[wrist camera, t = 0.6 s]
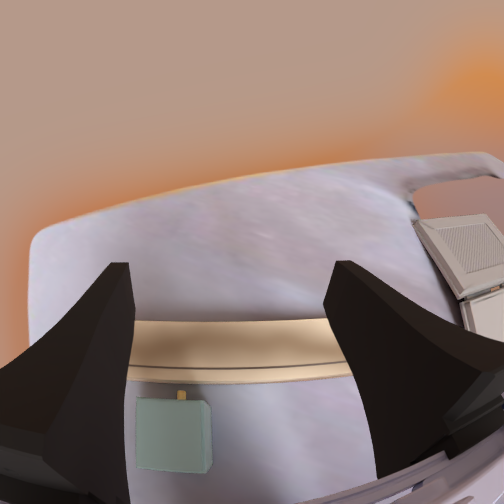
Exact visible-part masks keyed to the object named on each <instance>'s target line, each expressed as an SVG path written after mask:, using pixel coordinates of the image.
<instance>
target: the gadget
mask: <svg viewBox="0 0 504 504" xmlns="http://www.w3.org/2000/svg"><path fill="white" fill-rule="evenodd" d="M412 226H413V228H414V229H415V231H416V233H417V235H418V237H419V239H420V241H421V242H422V244H423V245H424V246H425V248H426V249H427V251H428V252H429V254H430V255H431V257H432V259H433V260H434V262H435V263H436V265H437V266H438V268H439V269H440V271H441V273H442V274H443V276H444V277H445V279H446V281H447V282H448V284H449V286H450V287H451V289H452V291H453V292H454V294H455V296H456V298H457V299H458V300H459V299H462V298H464V300H465V301H464V302H461V303H459V305H460V309H461V313H462V317H463V322H464V326H465V329H466V330H468V331H471V332H473V333H476V334H479V335H482V336H484V337H487V338H490V339H494V340H498V341H501V342H504V236H503V235H502V233H501V232H500V231H499V230H498V228H497V227H496V226H495V225H494V223H493V222H492V221H491V220H490V219H489V217H488V216H487V215H486V214H476V215H465V216H454V217H443V218H434V219H423V220H417V221H416V224H413V225H412ZM499 285H500V289H497V290H494V291H492V292H491V290H490V289H491V288H494V287H496V286H499Z"/></svg>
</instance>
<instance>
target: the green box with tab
mask: <svg viewBox="0 0 504 504" xmlns="http://www.w3.org/2000/svg"><path fill="white" fill-rule="evenodd" d="M212 465H213V458H212V424H211V407H210V406H209V405H208V404H207V403H206V402H205V401H204V400H186V391H177V399H160V398H146V397H137V398H136V468H140V469H148V470H157V471H168V472H180V473H199V474H206V473H207V472H208V470H209V469H210V468H211V466H212Z"/></svg>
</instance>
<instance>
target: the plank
mask: <svg viewBox="0 0 504 504" xmlns="http://www.w3.org/2000/svg"><path fill="white" fill-rule="evenodd" d="M346 376H353V374H352V372H351V370H350V367H349V365H348V363H347V361H346V359H345V357H344V355H343V353H342V351H341V349H340V347H339V344H338V342H337V340H336V338H335V336H334V334H333V332H332V330H331V327H330V325H329V322H328V319H327V318H323V319H305V320H281V321H246V322H174V321H139V320H135V325H134V337H133V343H132V349H131V355H130V361H129V367H128V373H127V380H130V381H142V382H157V383H176V384H262V383H281V382H296V381H308V380H319V379H329V378H338V377H346Z"/></svg>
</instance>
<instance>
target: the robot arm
mask: <svg viewBox="0 0 504 504" xmlns="http://www.w3.org/2000/svg"><path fill="white" fill-rule="evenodd" d="M323 306H324V309H325V312H326V316H327V319H328V322H329V325H330V327H331V330H332V332H333V334H334V336H335V338H336V340H337V342H338V344H339V347H340V349H341V351H342V353H343V355H344V357H345V359H346V361H347V363H348V365H349V367H350V370H351V372H352V374H353V376H354V379H355V381H356V384H357V387H358V390H359V393H360V396H361V399H362V402H363V406H364V410H365V413H366V417H367V421H368V425H369V429H370V434H371V439H372V444H373V450H374V457H375V464H376V473H377V478H378V480H376V481H373V482H370V483H367V484H364V485H361V486H358V487H355V488H352V489H349V490H346V491H343V492H339V493H336V494H332V495H329V496H325V497H321V498H317V499H313V500H309V501H305V502H300V503H296V504H374V503H376V502H379V501H382V500H384V499H386V498H389V497H391V496H394V495H396V494H398V493H400V492H403V491H405V490H407V489H409V488H411V487H413V486H414V487H413V489H412V492H411V493H409V494H407V495H405V496H403V497H401V498H399V499H397V500H396V501H394V502H392V503H390V504H494V503H495V502H496V501H497V500H498V499H499V498H500V497H501V495H502V494H503V493H504V410H503V409H502V407H501V406H500V405H502V404H503V403H504V399H503V397H502V396H501V394H502V393H503V392H504V342H501V341H498V340H494V339H490V338H487V337H484V336H482V335H479V334H476V333H473V332H471V331H468V330H466V329H463V328H461V327H459V326H457V325H455V324H452V323H450V322H448V321H446V320H444V319H442V318H440V317H438V316H437V315H435V314H433V313H431V312H429V311H427V310H426V309H424V308H422V307H421V306H419V305H417V304H416V303H414V302H413V301H411V300H410V299H408V298H406V297H405V296H403V295H402V294H400V293H399V292H397V291H396V290H395V289H393V288H392V287H390V286H389V285H387V284H386V283H384V282H383V281H382V280H380V279H379V278H377V277H376V276H374V275H373V274H372V273H370V272H369V271H367V270H366V269H364V268H363V267H361V266H359V265H358V264H356V263H354V262H352V261H351V260H348V261H336V263H335V266H334V270H333V273H332V276H331V280H330V283H329V286H328V289H327V292H326V296H325V299H324V302H323ZM134 325H135V303H134V297H133V291H132V284H131V277H130V270H129V262H111V263H110V264H109V265H108V266H107V267H106V269H105V270H104V271H103V272H102V273H101V274H100V276H99V277H98V278H97V279H96V280H95V282H94V283H93V284H92V285H91V286H90V288H89V289H88V290H87V291H86V292H85V293H84V294H83V296H82V297H81V298H80V299H79V300H78V301H77V303H76V304H75V305H74V306H73V307H72V308H71V309H70V310H69V311H68V312H67V313H66V314H65V315H64V317H63V318H62V319H61V320H60V321H59V322H58V323H57V324H56V325H55V326H54V327H52V328H51V329H50V330H49V331H48V332H47V333H46V334H45V335H44V336H43V337H42V338H40V339H39V340H38V341H37V342H36V343H34V344H33V345H32V346H31V347H29V348H28V349H27V350H26V351H24V352H23V353H22V354H21V355H19V356H18V357H17V358H15V359H14V360H13V361H11V362H10V363H9V364H7V365H6V366H4V367H3V368H1V369H0V504H131V503H130V496H129V489H128V481H127V472H126V460H125V444H124V396H125V387H126V380H127V373H128V367H129V361H130V355H131V349H132V343H133V337H134Z"/></svg>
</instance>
